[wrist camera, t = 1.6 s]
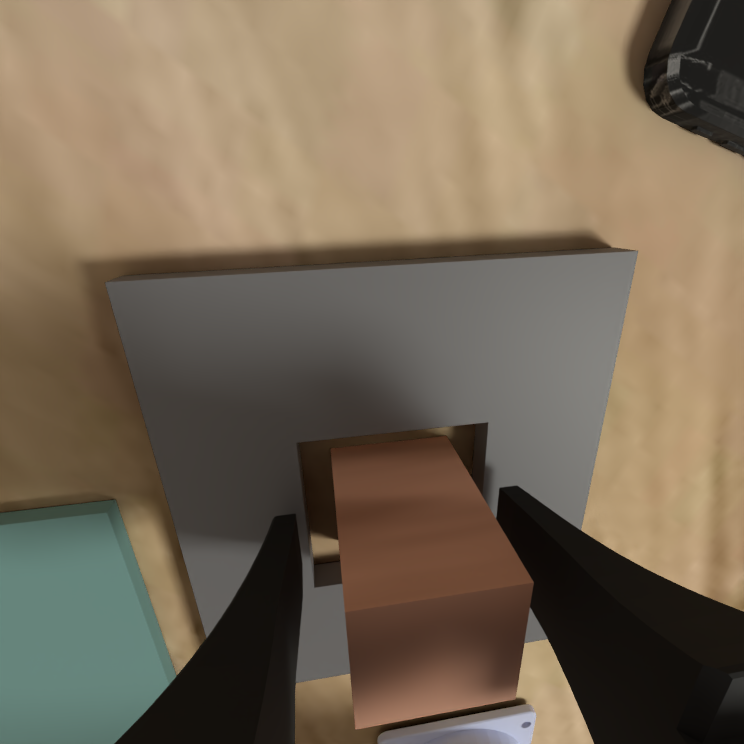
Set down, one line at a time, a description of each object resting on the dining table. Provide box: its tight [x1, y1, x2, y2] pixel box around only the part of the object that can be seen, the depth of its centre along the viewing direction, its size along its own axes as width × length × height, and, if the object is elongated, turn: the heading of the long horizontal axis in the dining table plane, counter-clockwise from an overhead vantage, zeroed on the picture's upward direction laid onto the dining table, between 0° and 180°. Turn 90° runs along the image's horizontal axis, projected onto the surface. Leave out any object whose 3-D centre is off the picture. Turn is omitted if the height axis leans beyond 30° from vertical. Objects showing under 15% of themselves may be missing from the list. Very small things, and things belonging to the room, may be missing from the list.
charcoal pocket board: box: [105, 248, 638, 683], centre depth 14 cm, size 16×14×1 cm
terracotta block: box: [331, 436, 534, 730], centre depth 12 cm, size 4×4×6 cm
